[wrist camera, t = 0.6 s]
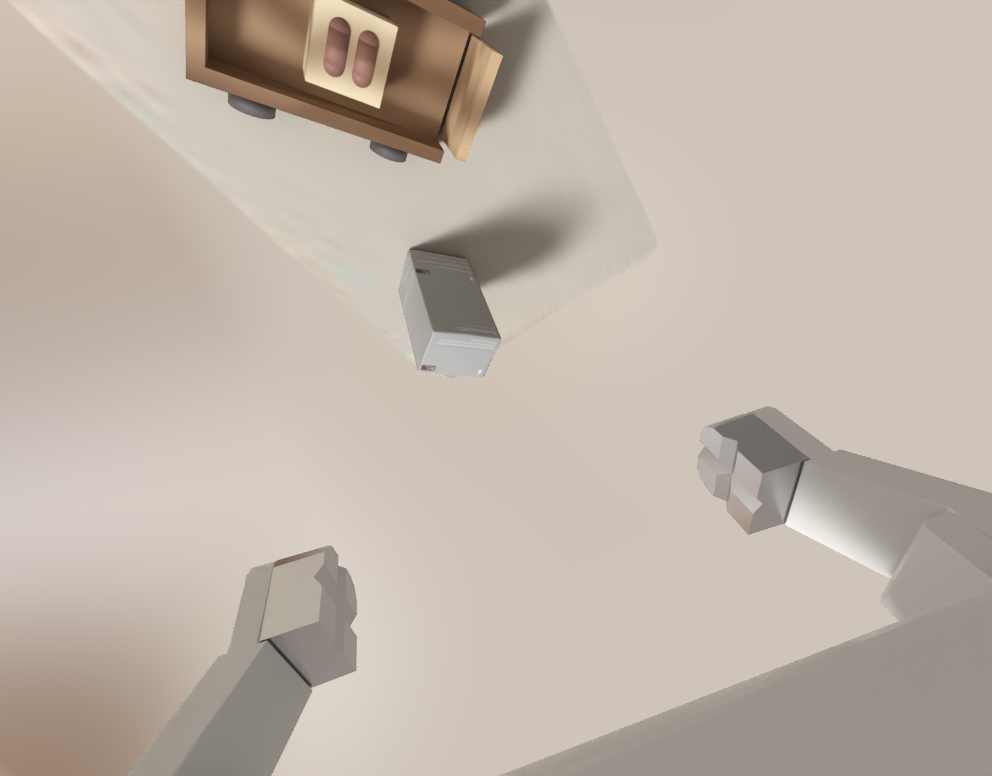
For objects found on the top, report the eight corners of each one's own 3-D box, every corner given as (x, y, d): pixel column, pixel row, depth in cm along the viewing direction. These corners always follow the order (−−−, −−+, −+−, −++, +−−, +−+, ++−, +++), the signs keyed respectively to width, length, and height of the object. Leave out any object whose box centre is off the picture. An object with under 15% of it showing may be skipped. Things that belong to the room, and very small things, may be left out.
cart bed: (191, -170, 29) (184, -174, 27) (476, -8, 40) (492, 1, 37) (191, 82, 38) (186, 98, 35) (426, 160, 49) (435, 177, 46)
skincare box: (468, 256, 59) (509, 333, 49) (452, 302, 64) (487, 380, 54) (404, 246, 55) (435, 327, 45) (392, 295, 60) (418, 378, 50)
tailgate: (471, 31, 42) (493, 47, 38) (481, 36, 42) (504, 53, 38) (438, 136, 47) (455, 160, 43) (447, 140, 48) (464, 164, 44)
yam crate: (313, -20, 35) (317, -10, 32) (388, 17, 38) (399, 28, 35) (302, 67, 39) (305, 82, 36) (372, 94, 42) (380, 110, 39)
